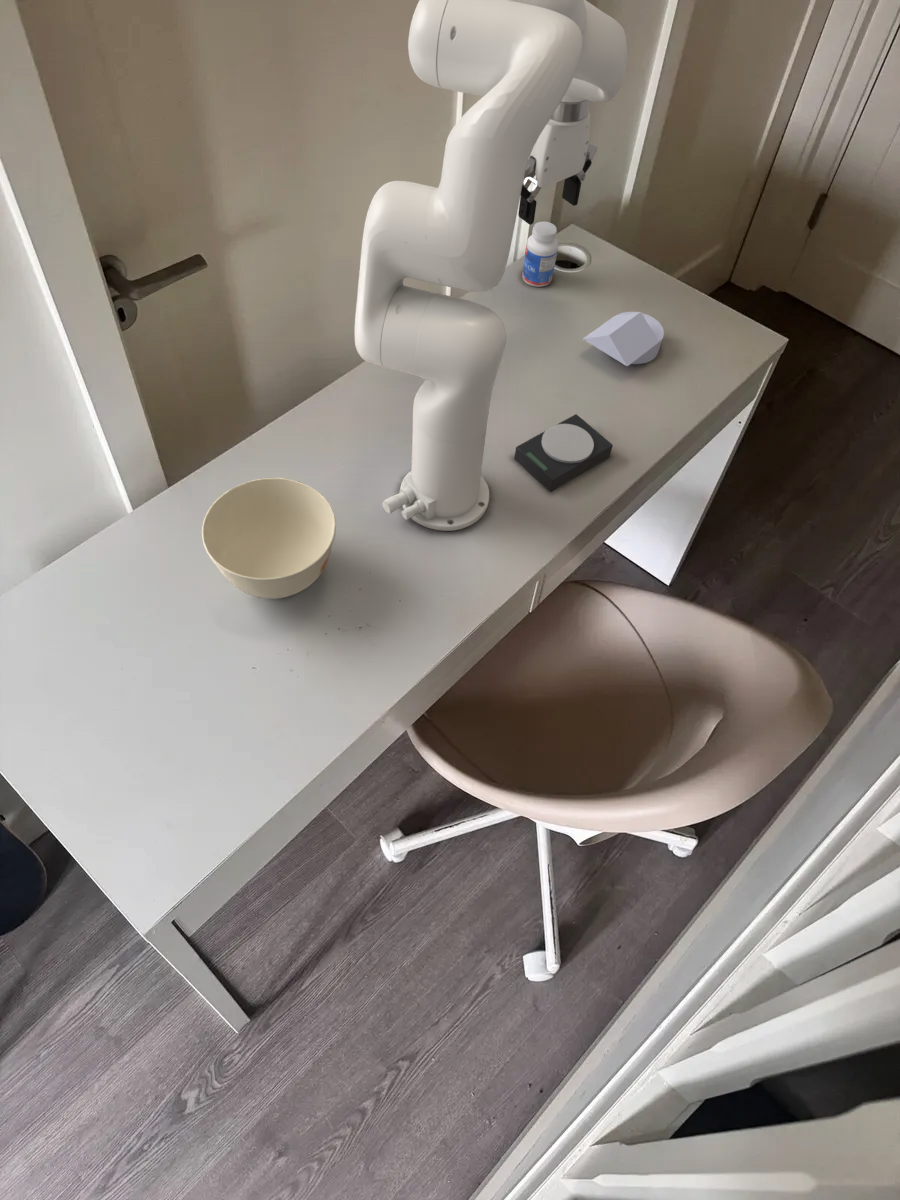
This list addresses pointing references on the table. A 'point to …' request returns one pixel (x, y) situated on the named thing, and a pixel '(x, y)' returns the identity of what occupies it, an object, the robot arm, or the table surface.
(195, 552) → the table surface
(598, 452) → the scale
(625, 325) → the wedge on round base
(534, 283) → the pill bottle
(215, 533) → the bowl
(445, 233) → the robot arm
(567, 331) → the table surface
